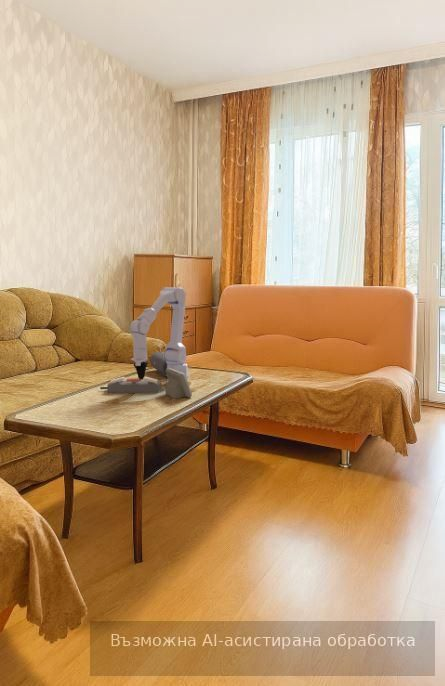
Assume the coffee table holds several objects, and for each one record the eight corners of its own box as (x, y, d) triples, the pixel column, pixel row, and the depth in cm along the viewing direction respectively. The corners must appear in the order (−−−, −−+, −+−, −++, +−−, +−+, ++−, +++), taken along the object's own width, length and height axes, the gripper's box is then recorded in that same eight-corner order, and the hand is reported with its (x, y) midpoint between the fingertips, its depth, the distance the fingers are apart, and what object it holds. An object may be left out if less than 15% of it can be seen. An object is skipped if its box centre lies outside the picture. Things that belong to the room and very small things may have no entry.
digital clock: (193, 398, 212) (192, 373, 210) (171, 400, 209) (171, 374, 208) (183, 389, 227) (183, 366, 226) (163, 391, 224) (162, 367, 223)
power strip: (161, 388, 230) (161, 379, 230) (158, 392, 222) (158, 383, 222) (102, 388, 231) (102, 379, 230) (98, 392, 223) (98, 383, 222)
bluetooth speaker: (148, 370, 270) (148, 351, 269) (166, 369, 274) (165, 350, 273) (161, 379, 250) (160, 358, 248) (179, 377, 253) (179, 357, 252)
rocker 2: (141, 380, 226) (141, 377, 225) (140, 381, 223) (140, 378, 223) (127, 380, 226) (127, 378, 225) (126, 381, 223) (126, 379, 223)
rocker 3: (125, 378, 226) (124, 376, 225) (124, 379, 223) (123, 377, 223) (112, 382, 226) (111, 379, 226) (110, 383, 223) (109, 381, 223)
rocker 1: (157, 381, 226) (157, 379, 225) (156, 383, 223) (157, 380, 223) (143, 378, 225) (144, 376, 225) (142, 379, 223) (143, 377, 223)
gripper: (133, 346, 229) (135, 376, 231) (127, 351, 215) (129, 383, 217) (149, 345, 229) (151, 375, 231) (144, 350, 215) (146, 382, 217)
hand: (141, 379), depth 224 cm, fingers closed, pressing on rocker 1, rocker 2
